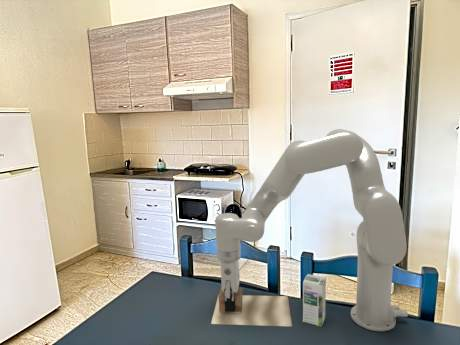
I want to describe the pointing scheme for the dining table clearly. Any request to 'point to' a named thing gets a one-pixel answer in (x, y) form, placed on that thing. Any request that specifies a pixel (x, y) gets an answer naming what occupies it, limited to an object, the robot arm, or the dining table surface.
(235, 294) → the block
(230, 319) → the board
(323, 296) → the syrup box
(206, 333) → the dining table surface
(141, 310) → the dining table surface
